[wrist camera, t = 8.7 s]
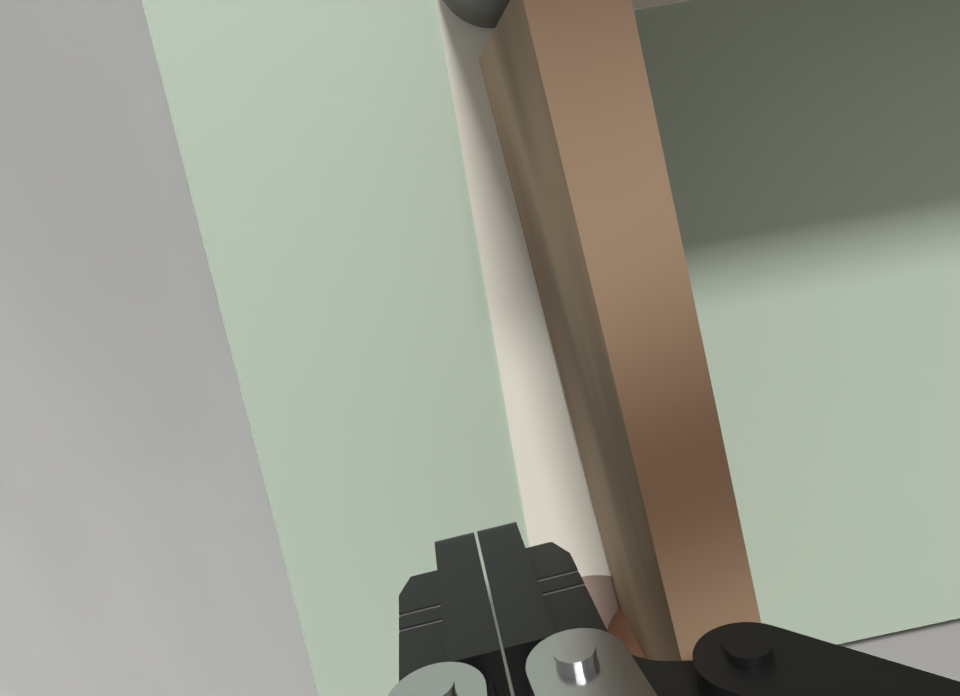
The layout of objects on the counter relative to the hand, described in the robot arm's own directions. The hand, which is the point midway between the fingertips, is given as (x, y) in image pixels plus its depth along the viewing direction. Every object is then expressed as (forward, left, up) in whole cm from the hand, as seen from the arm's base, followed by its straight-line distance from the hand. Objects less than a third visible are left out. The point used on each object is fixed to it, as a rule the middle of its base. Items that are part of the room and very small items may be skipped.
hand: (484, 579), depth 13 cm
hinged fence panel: (-3, -3, -2) cm, 5 cm away
